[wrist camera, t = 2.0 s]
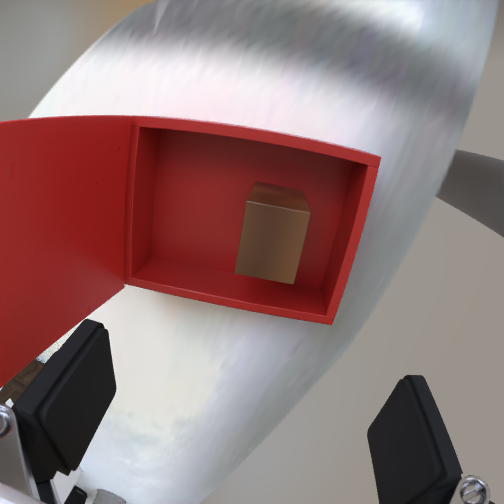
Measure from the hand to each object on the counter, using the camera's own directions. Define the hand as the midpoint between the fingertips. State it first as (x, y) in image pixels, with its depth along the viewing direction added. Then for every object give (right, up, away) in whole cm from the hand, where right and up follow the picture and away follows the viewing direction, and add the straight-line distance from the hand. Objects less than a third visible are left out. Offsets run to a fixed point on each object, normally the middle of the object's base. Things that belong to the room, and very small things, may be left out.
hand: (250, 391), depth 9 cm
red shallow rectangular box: (-1, +8, +18) cm, 20 cm away
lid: (-12, +4, +5) cm, 13 cm away
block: (+2, +7, +17) cm, 19 cm away
